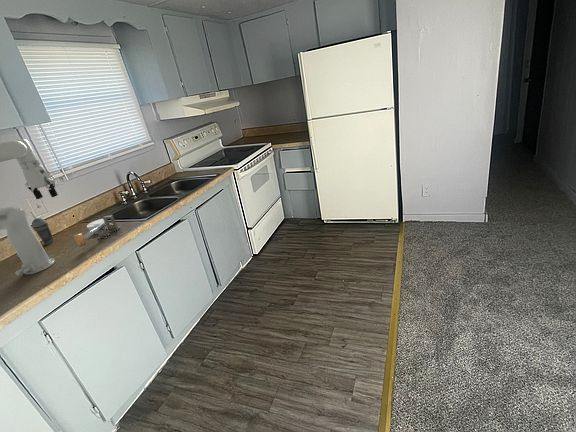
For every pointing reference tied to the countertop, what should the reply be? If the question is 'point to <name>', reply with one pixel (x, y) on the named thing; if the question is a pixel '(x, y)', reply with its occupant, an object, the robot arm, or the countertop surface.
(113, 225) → the eye post
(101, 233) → the cradle
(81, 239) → the hook rod
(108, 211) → the countertop surface
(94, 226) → the ramekin
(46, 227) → the beverage cup
